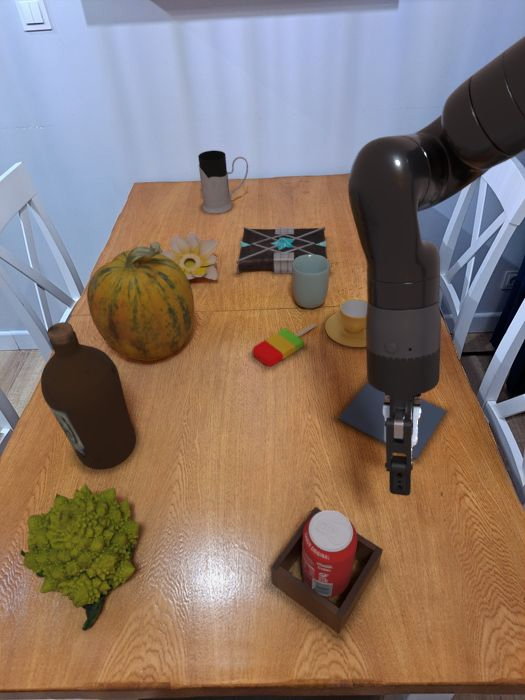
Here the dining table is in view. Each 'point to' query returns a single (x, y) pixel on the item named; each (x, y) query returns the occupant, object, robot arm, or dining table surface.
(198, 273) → the decorative flower
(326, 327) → the cup
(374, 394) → the mat
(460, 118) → the robot arm
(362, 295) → the dining table surface
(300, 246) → the book
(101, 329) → the pumpkin
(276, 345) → the popsicle
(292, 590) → the can holder
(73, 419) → the olive oil
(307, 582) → the beverage can
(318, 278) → the cup
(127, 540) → the vegetable
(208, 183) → the glass holder
